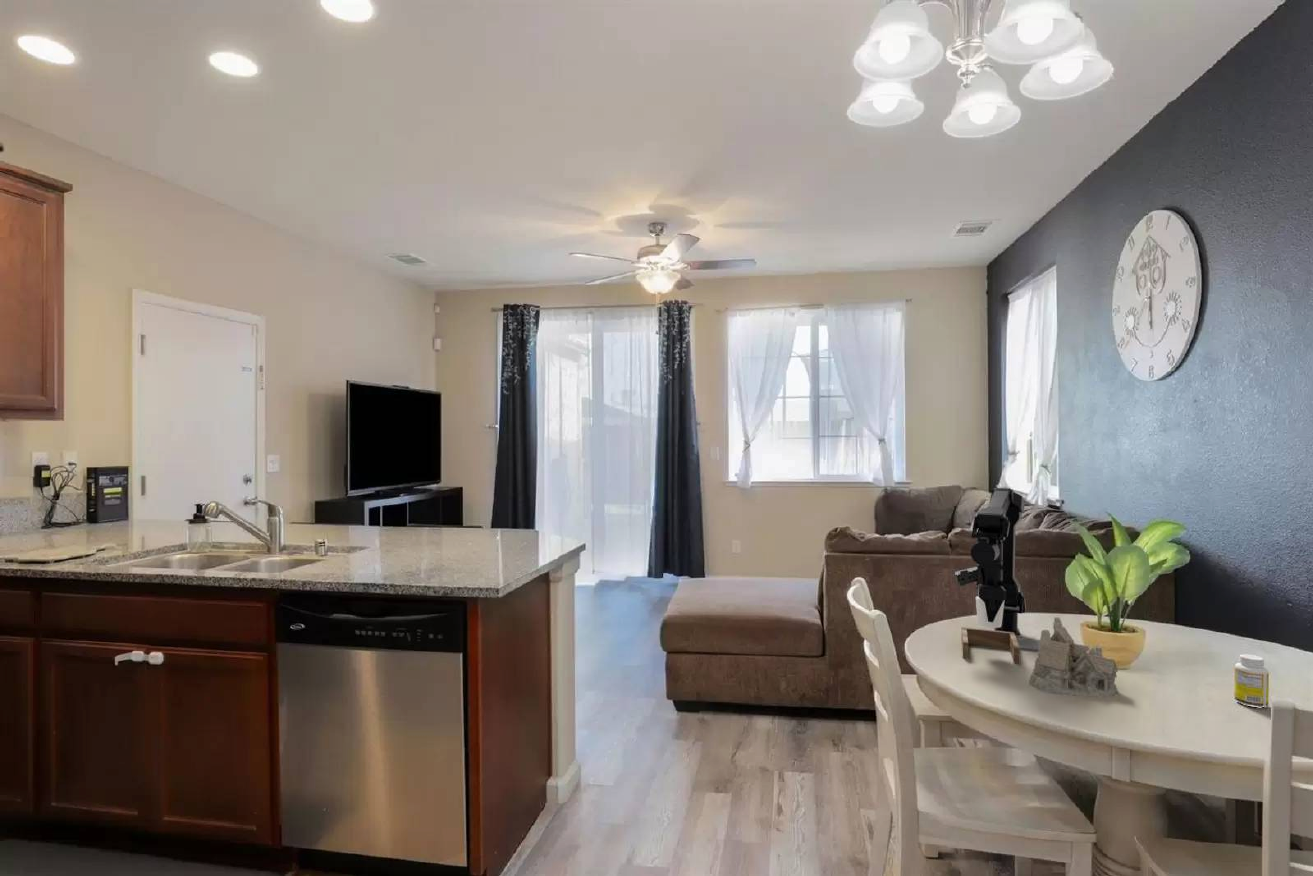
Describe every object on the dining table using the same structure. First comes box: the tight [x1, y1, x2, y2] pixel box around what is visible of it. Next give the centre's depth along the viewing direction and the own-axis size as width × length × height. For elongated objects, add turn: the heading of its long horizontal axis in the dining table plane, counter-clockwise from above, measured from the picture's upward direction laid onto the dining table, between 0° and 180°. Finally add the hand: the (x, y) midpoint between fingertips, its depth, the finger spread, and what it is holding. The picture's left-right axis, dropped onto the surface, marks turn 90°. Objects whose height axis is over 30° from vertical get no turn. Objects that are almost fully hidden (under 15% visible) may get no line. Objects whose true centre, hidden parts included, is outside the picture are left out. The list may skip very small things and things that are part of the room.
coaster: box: [1016, 637, 1040, 653], centre depth 189 cm, size 9×9×1 cm
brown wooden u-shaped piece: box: [961, 626, 1021, 665], centre depth 183 cm, size 16×13×4 cm
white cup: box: [975, 595, 1004, 629], centre depth 183 cm, size 7×7×7 cm
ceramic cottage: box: [1028, 616, 1119, 698], centre depth 158 cm, size 16×16×15 cm
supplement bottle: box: [1234, 653, 1270, 707], centre depth 149 cm, size 6×6×10 cm
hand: (989, 618), depth 183 cm, fingers closed on white cup, 6 cm apart
